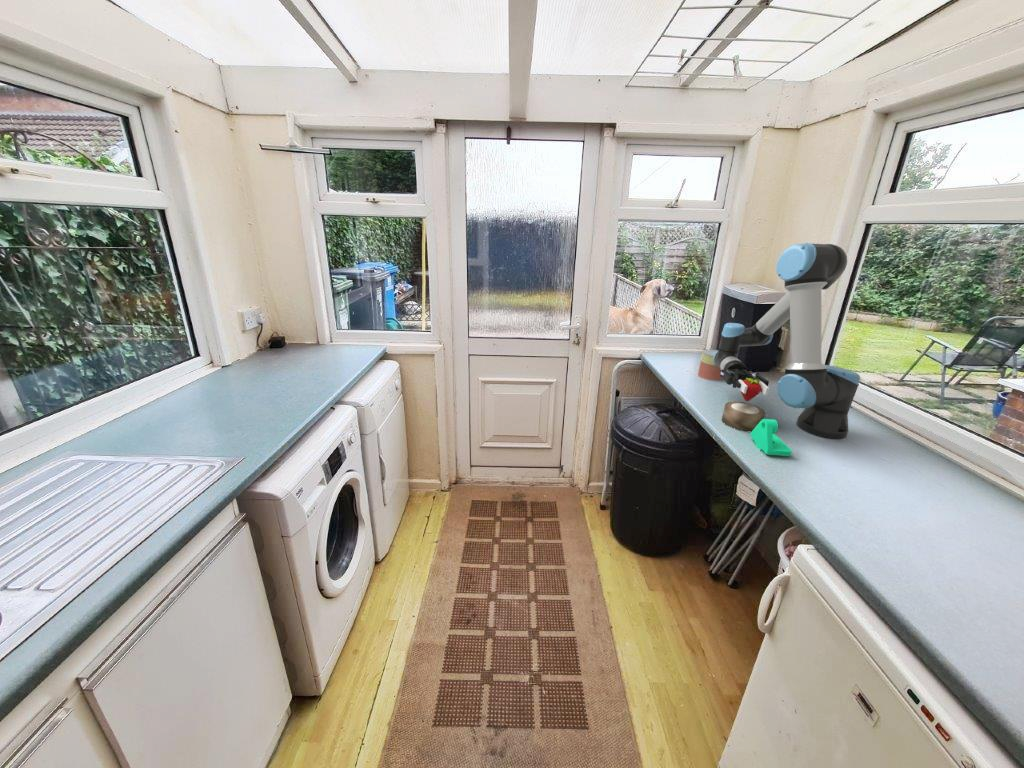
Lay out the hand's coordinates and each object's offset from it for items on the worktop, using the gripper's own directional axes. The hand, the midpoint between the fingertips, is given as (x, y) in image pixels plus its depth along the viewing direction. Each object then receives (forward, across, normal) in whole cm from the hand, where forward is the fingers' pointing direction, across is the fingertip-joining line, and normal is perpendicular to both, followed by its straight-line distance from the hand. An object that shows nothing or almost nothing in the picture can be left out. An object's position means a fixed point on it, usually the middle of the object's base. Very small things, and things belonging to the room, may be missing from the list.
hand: (756, 390), depth 143 cm
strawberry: (-5, 0, -6) cm, 8 cm away
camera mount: (+13, -3, -15) cm, 20 cm away
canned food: (-57, -4, -16) cm, 59 cm away
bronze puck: (-5, 0, -15) cm, 16 cm away
